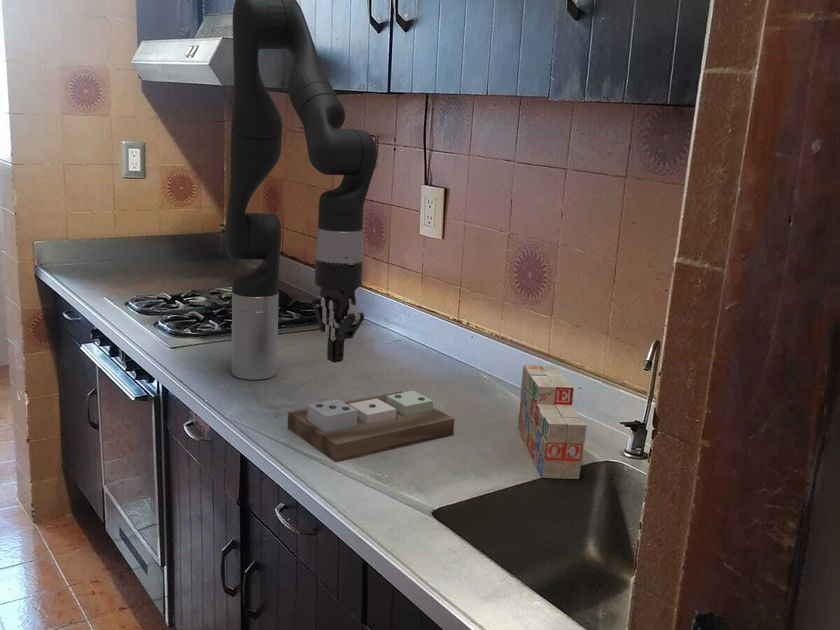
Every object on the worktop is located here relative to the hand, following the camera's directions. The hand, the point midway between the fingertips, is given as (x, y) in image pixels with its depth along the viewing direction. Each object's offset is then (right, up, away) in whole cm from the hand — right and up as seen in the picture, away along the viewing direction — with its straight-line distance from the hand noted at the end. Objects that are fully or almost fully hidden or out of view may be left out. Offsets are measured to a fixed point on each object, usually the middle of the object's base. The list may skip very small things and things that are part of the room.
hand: (335, 360), depth 133 cm
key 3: (-1, -11, +3) cm, 11 cm away
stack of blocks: (+35, -16, +4) cm, 39 cm away
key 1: (+5, -11, +8) cm, 15 cm away
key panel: (+5, -13, +8) cm, 16 cm away
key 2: (+12, -10, +12) cm, 20 cm away
